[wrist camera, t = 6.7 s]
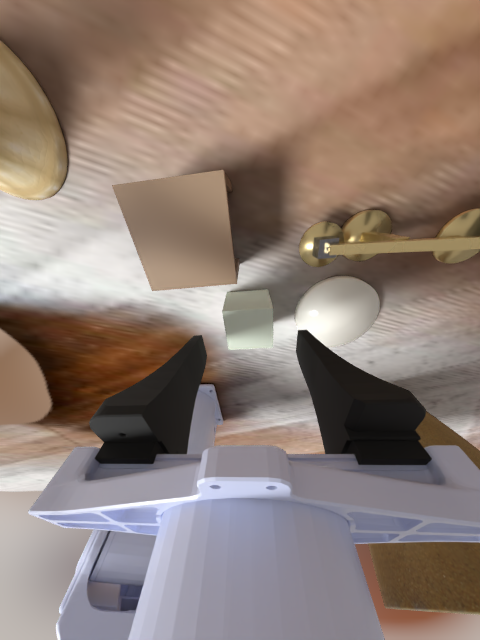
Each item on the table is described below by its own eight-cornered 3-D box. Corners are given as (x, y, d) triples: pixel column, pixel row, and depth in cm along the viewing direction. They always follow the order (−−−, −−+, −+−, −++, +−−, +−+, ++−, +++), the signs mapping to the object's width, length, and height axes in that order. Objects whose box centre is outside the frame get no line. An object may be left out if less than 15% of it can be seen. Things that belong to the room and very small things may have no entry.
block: (268, 323, 19) (273, 347, 16) (231, 325, 20) (228, 349, 16) (267, 288, 17) (273, 308, 14) (226, 291, 18) (222, 311, 14)
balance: (422, 253, 15) (507, 273, 10) (291, 264, 16) (311, 288, 11) (443, 202, 13) (561, 196, 8) (294, 217, 14) (319, 221, 9)
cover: (239, 263, 16) (236, 283, 12) (177, 269, 16) (152, 290, 12) (231, 183, 13) (223, 169, 9) (155, 193, 13) (112, 185, 9)
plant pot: (308, 384, 24) (389, 611, 10) (438, 355, 21) (807, 634, 7) (324, 437, 31) (385, 614, 17) (423, 422, 28) (594, 627, 14)
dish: (361, 339, 20) (367, 345, 19) (292, 343, 20) (294, 349, 20) (384, 272, 16) (391, 275, 15) (297, 279, 16) (299, 282, 16)
